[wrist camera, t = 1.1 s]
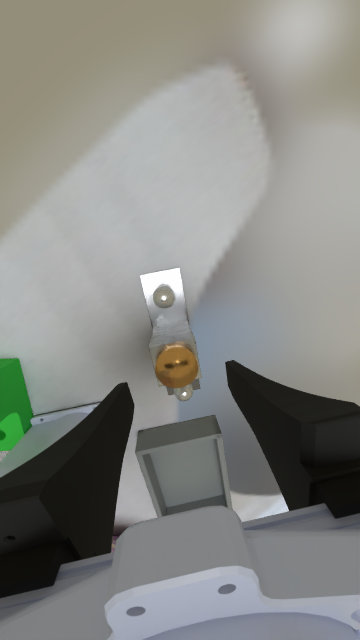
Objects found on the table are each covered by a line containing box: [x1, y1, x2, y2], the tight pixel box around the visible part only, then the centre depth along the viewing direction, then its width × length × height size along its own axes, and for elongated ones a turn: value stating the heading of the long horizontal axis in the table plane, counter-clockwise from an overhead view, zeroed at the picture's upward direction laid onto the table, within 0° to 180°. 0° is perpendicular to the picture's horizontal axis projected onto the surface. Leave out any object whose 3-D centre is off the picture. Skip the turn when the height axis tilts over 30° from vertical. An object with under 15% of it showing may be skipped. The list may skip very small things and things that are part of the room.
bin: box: [135, 415, 233, 518], centre depth 25 cm, size 11×17×3 cm, turn 10°
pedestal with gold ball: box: [149, 320, 201, 388], centre depth 17 cm, size 4×4×7 cm
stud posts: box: [140, 268, 200, 401], centre depth 19 cm, size 4×16×4 cm, turn 11°
